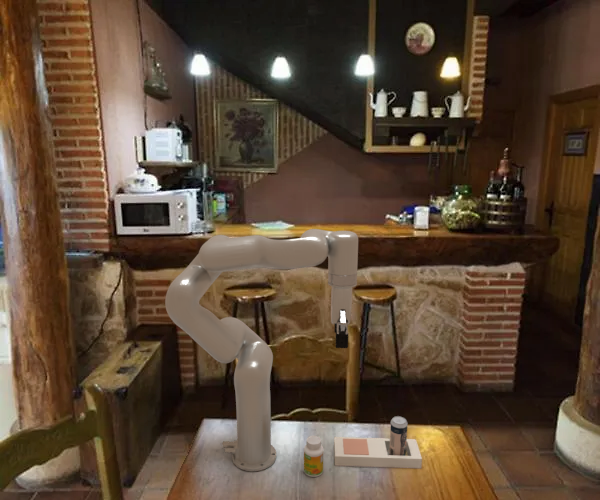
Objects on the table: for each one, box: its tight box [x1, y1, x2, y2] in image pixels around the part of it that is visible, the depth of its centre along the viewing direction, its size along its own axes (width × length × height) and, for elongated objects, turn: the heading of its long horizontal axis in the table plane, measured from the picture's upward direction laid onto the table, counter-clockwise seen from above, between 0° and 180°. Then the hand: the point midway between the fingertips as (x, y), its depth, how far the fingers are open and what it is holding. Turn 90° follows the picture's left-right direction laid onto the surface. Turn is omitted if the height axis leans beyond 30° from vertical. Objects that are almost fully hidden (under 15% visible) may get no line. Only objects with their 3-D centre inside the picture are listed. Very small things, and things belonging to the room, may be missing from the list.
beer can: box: [388, 415, 409, 456], centre depth 138 cm, size 5×5×12 cm
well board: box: [333, 436, 423, 469], centre depth 139 cm, size 24×9×3 cm, turn 88°
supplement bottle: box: [303, 435, 325, 478], centre depth 132 cm, size 5×5×10 cm
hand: (340, 339), depth 130 cm, fingers open, 9 cm apart
